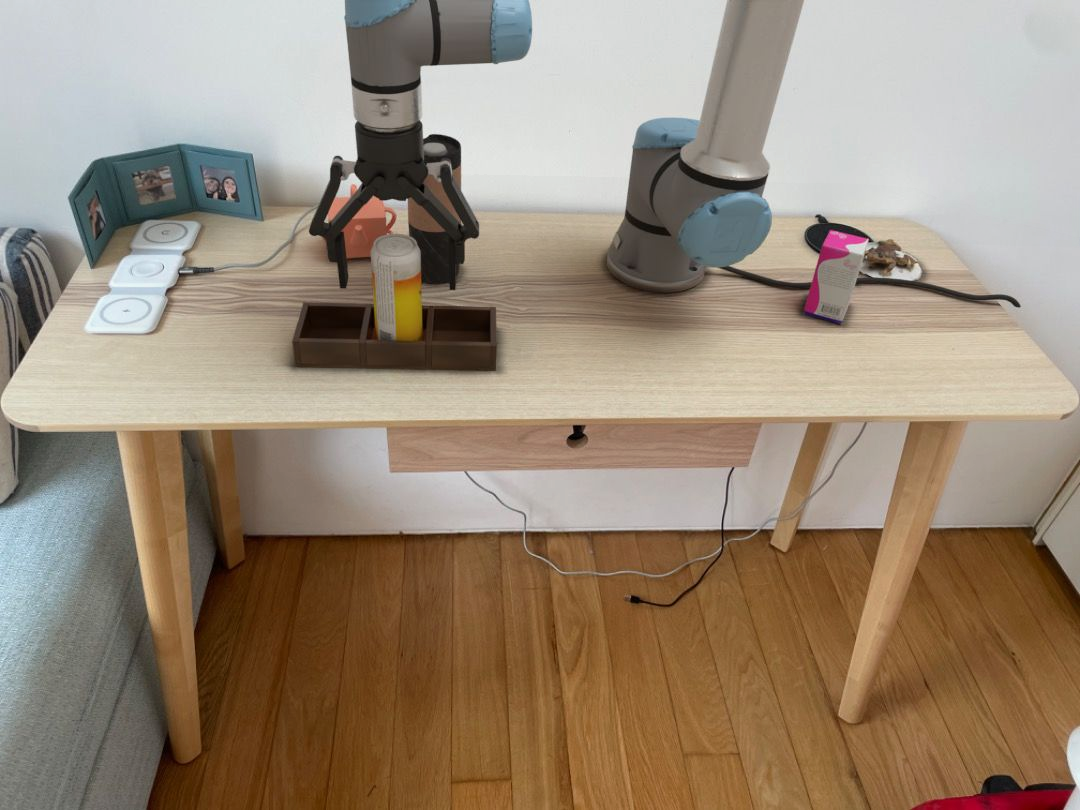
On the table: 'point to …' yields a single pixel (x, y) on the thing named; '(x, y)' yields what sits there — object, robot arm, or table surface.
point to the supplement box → (835, 276)
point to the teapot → (363, 224)
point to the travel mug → (420, 221)
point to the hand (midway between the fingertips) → (398, 283)
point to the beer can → (397, 288)
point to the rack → (351, 340)
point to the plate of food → (889, 262)
